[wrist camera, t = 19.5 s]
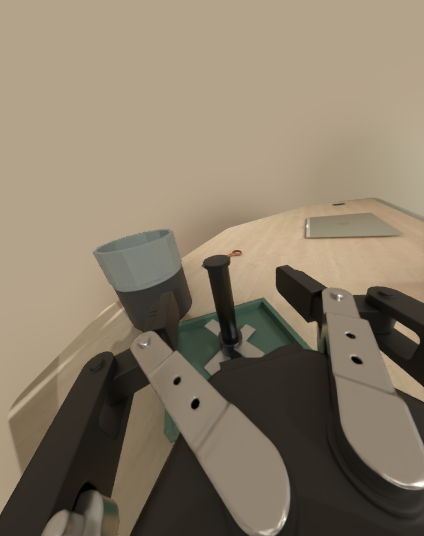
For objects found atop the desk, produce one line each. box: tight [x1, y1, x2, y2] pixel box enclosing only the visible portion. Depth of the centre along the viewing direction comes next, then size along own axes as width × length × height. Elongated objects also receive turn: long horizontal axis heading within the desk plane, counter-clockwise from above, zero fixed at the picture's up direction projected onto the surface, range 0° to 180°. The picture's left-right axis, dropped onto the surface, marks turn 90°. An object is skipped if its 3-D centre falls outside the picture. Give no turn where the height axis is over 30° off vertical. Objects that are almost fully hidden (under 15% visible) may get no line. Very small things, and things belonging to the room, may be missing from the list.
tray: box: [164, 298, 312, 442], centre depth 22 cm, size 18×14×2 cm
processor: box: [93, 229, 192, 331], centre depth 31 cm, size 13×13×16 cm
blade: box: [203, 255, 264, 376], centre depth 19 cm, size 9×9×14 cm
